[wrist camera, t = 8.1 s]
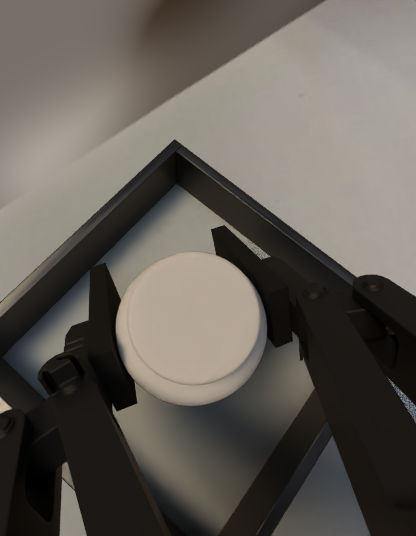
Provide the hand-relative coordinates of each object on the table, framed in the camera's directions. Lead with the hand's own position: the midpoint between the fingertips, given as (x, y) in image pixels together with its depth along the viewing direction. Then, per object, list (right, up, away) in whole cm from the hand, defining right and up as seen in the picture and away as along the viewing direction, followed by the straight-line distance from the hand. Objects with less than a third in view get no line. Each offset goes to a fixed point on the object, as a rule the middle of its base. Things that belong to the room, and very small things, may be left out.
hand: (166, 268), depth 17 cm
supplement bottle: (+1, -4, +3) cm, 5 cm away
